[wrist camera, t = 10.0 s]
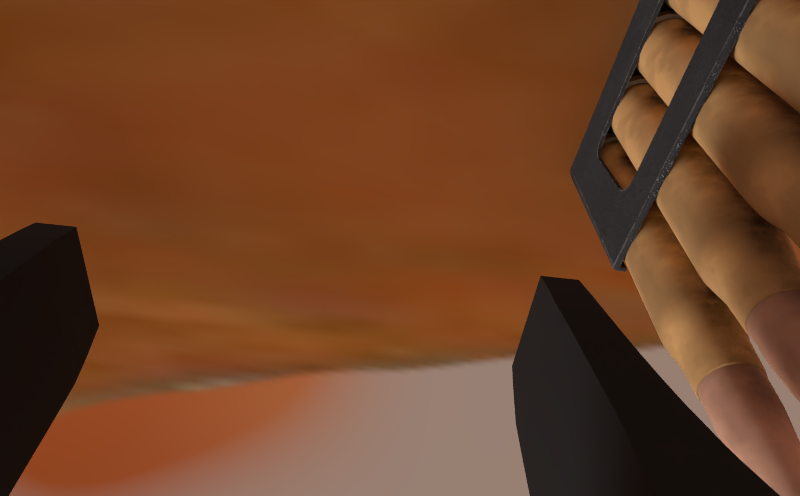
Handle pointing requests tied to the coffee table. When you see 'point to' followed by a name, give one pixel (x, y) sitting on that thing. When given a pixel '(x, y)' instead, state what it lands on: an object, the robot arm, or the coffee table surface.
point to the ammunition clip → (710, 205)
